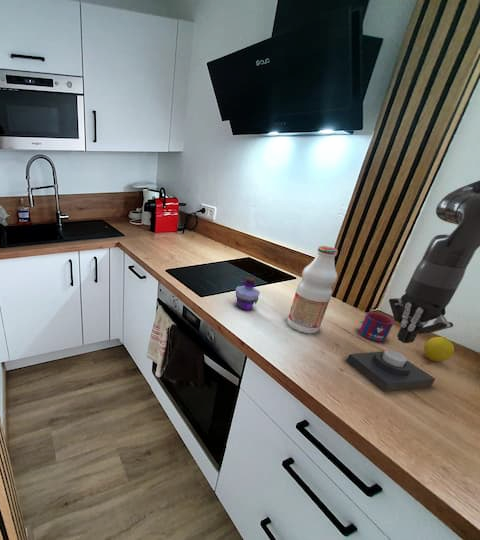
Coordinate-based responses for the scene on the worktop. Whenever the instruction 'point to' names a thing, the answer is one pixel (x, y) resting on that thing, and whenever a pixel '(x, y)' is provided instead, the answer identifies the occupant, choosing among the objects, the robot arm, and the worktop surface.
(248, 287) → the potion bottle
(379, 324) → the mug
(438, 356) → the lemon
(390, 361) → the flush button
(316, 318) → the fruit juice
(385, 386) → the flush plate
